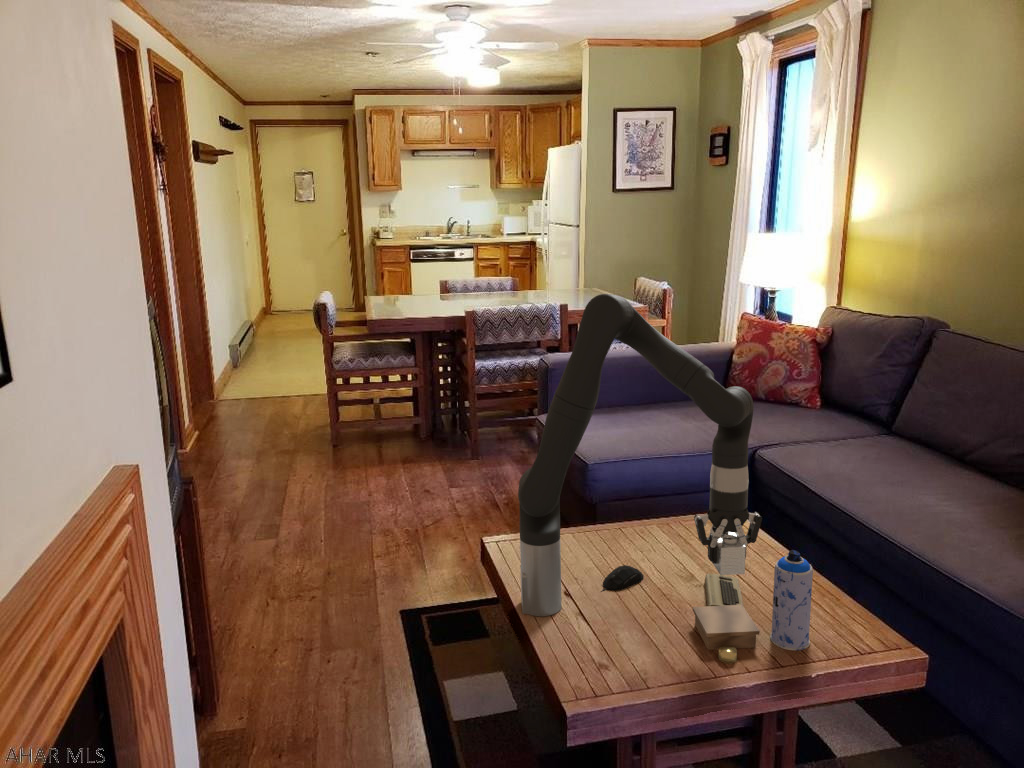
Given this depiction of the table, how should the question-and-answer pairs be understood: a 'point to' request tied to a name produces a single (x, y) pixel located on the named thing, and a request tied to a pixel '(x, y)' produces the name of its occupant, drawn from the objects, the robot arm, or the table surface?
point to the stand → (725, 626)
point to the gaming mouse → (622, 578)
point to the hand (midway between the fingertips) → (726, 561)
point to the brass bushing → (727, 654)
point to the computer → (722, 590)
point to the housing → (730, 555)
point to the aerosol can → (792, 602)
